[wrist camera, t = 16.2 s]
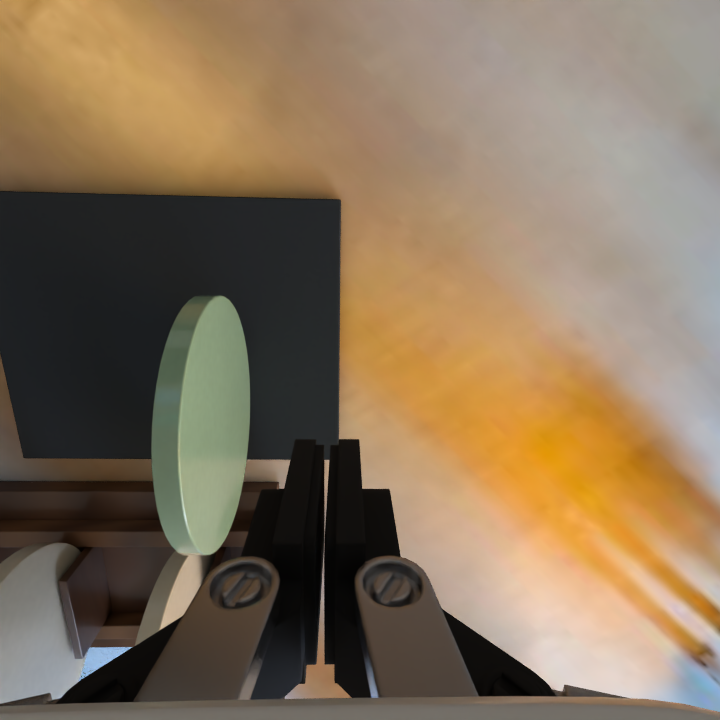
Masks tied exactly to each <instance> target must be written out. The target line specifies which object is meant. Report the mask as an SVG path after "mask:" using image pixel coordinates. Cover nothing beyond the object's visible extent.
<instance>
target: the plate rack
mask: <svg viewBox="0 0 720 720" xmlns="http://www.w3.org/2000/svg"><path fill="white" fill-rule="evenodd" d="M262 489H279V482H243V485H242V491H241V495H240V499H239V504H238V507H237V511H236V514H235V517H234V520H233V523H232V526H231V528H230V531H229V533H228V535H227V537H226V539H225V541H224V543H223V544H222V545H221V547H220V548H219V549H218V550H217V551H216V552H215V558H214V561H213V563H212V566H211V569H210V571H209V573H210V572H211V571H212V570H213V569H214V568H216V567H217V566H218V565H220V564H221V563H224V562H226V561H228V560H230V559H234V558H238V557H241V554H242V551H243V547H244V544H245V541H246V538H247V534H248V531H249V528H250V524H251V521H252V518H253V514H254V511H255V508H256V505H257V501H258V498H259V495H260V492H261V490H262ZM42 542H60V543H68V544H70V545H73V546H74V547H76V548H77V549H79V550H80V552H81V553H80V555H79V556H78V557H77V558H76V560H75V561H74V562H73V563H72V565H71V566H70V567H69V568H68V570H67V571H66V572H65V573H64V575H63V576H62V577H61V578H60V580H59V581H58V583H59V588H60V592H61V597H62V602H63V606H64V611H65V615H66V620H67V624H68V629H69V634H70V638H71V643H72V647H73V652H74V657H75V659H83V658H84V656H85V654H86V653H87V651H88V649H89V648H90V647H134V646H135V643H136V639H137V635H138V632H139V628H140V625H141V622H142V618H143V615H144V612H145V609H146V607H147V604H148V601H149V598H150V596H151V593H152V591H153V588H154V586H155V583H156V581H157V579H158V577H159V575H160V573H161V571H162V569H163V567H164V566H165V564H166V562H167V561H168V559H169V558H170V556H171V555H172V554H173V552H174V551H175V550H174V549H173V548H172V546H171V545H170V543H169V542H168V540H167V538H166V536H165V534H164V531H163V529H162V526H161V523H160V519H159V515H158V511H157V506H156V500H155V494H154V486H153V482H78V481H0V563H2V562H3V561H4V560H5V559H7V558H8V557H9V556H11V555H12V554H13V553H15V552H17V551H19V550H21V549H22V548H24V547H27V546H30V545H32V544H36V543H42Z"/></svg>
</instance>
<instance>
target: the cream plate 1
mask: <svg viewBox="0 0 720 720" xmlns="http://www.w3.org/2000/svg"><path fill="white" fill-rule="evenodd" d="M80 553H81V552H80V550H79V549H77V548H76V547H74V546H73V545H70V544H68V543H60V542H42V543H36V544H32V545H30V546H27V547H24V548H22V549H21V550H19V551H17V552H15V553H13V554H12V555H11V556H9V557H8V558H7V559H5V560H4V561H3V562H2V563H0V704H2V703H6V702H11V701H15V700H19V699H24V698H28V697H33V696H37V695H42V694H46V693H51V697H52V700H54V699H59V698H61V697H62V696H63V695H64V694H65V693H66V692H67V691H68V690H69V689H70V688H71V687H73V686H74V685H75V684H77V683H78V681H79V679H80V676H81V672H82V669H83V666H84V663H85V659H86V655H87V653H86V654H85V656H84V658H83V659H75V657H74V652H73V647H72V643H71V638H70V634H69V629H68V624H67V620H66V615H65V611H64V606H63V602H62V597H61V592H60V588H59V583H58V581H59V580H60V578H61V577H62V576H63V575H64V573H65V572H66V571H67V570H68V568H69V567H70V566H71V565H72V563H73V562H74V561H75V560H76V558H77V557H78V556H79V555H80Z"/></svg>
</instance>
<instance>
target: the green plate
mask: <svg viewBox="0 0 720 720" xmlns="http://www.w3.org/2000/svg"><path fill="white" fill-rule="evenodd" d="M249 426H250V378H249V365H248V355H247V348H246V342H245V337H244V333H243V328H242V325H241V322H240V318H239V316H238V313H237V311H236V309H235V307H234V305H233V304H232V302H231V301H230V300H229V299H228V298H226V297H225V296H222V295H198V296H194V297H193V298H191V299H190V300H188V301H187V302H186V304H185V305H184V306H183V307H182V308H181V310H180V312H179V313H178V315H177V317H176V319H175V321H174V323H173V325H172V328H171V330H170V333H169V335H168V338H167V341H166V344H165V348H164V351H163V355H162V359H161V363H160V368H159V373H158V378H157V383H156V391H155V398H154V407H153V419H152V443H151V454H152V476H153V486H154V494H155V500H156V506H157V511H158V515H159V519H160V523H161V526H162V529H163V531H164V534H165V536H166V538H167V540H168V542H169V543H170V545H171V546H172V548H173V549H174V550H175V551H176V552H178V553H180V554H182V555H187V556H208V555H211V554H213V553H215V552H216V551H217V550H218V549H219V548H220V547H221V545H222V544H223V543H224V541H225V539H226V537H227V535H228V533H229V531H230V528H231V526H232V523H233V520H234V517H235V514H236V511H237V507H238V504H239V499H240V495H241V491H242V485H243V480H244V474H245V468H246V460H247V452H248V441H249Z"/></svg>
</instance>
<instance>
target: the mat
mask: <svg viewBox="0 0 720 720" xmlns="http://www.w3.org/2000/svg"><path fill="white" fill-rule="evenodd" d="M340 236H341V200H339V199H300V198H259V197H218V196H177V195H136V194H95V193H54V192H14V191H0V354H1V358H2V363H3V367H4V372H5V376H6V381H7V385H8V390H9V394H10V399H11V403H12V408H13V412H14V417H15V421H16V426H17V430H18V434H19V439H20V443H21V448H22V452H23V457H24V458H80V459H152V454H151V443H152V419H153V407H154V398H155V391H156V383H157V378H158V373H159V368H160V363H161V359H162V355H163V351H164V348H165V344H166V341H167V338H168V335H169V333H170V330H171V328H172V325H173V323H174V321H175V319H176V317H177V315H178V313H179V312H180V310H181V308H182V307H183V306H184V305H185V304H186V302H187V301H188V300H190V299H191V298H193V297H194V296H198V295H222V296H225V297H226V298H228V299H229V300H230V301H231V302H232V304H233V305H234V307H235V309H236V311H237V313H238V316H239V318H240V322H241V325H242V328H243V333H244V337H245V342H246V348H247V355H248V365H249V378H250V426H249V441H248V452H247V459H282V460H291V456H292V451H293V447H294V442H295V439H316V445H324V460H330V446H331V445H339V348H340Z"/></svg>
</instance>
